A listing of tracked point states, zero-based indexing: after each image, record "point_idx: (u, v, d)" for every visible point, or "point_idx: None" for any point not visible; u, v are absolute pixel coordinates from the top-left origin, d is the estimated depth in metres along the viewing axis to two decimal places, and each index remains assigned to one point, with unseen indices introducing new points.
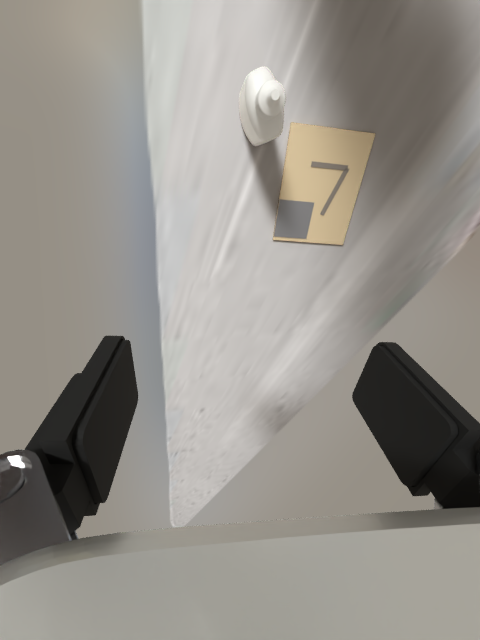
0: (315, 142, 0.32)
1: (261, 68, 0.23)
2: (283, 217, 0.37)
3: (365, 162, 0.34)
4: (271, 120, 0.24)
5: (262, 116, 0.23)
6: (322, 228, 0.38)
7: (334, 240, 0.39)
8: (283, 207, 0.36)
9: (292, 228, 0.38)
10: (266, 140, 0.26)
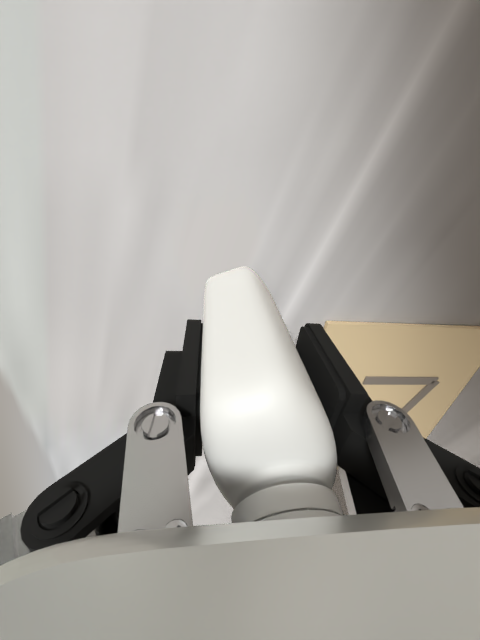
0: (377, 350, 0.15)
1: (264, 394, 0.05)
2: None
3: (473, 370, 0.17)
4: None
5: None
6: None
7: None
8: None
9: None
10: None
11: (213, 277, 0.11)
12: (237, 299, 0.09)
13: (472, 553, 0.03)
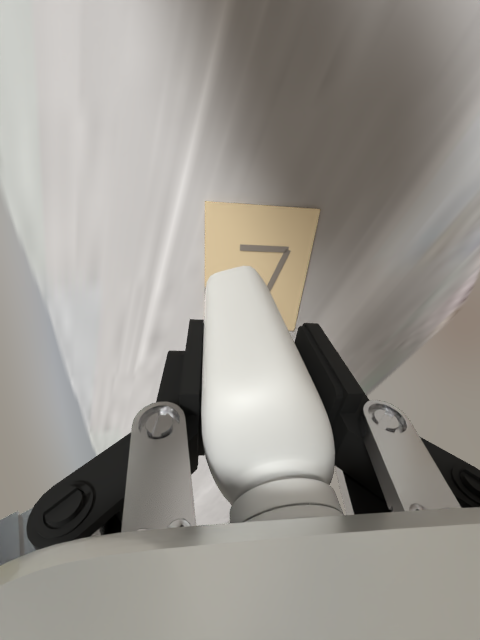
0: (241, 223, 0.25)
1: (270, 389, 0.05)
2: None
3: (311, 242, 0.26)
4: None
5: None
6: None
7: None
8: None
9: None
10: None
11: (215, 274, 0.11)
12: (241, 296, 0.09)
13: (472, 553, 0.03)
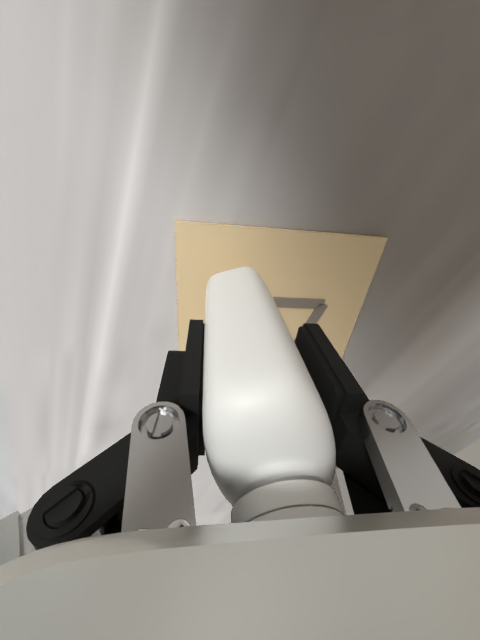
0: (243, 260, 0.13)
1: (271, 390, 0.05)
2: None
3: (363, 292, 0.15)
4: None
5: None
6: None
7: None
8: None
9: None
10: None
11: (216, 275, 0.11)
12: (242, 297, 0.09)
13: (472, 553, 0.03)
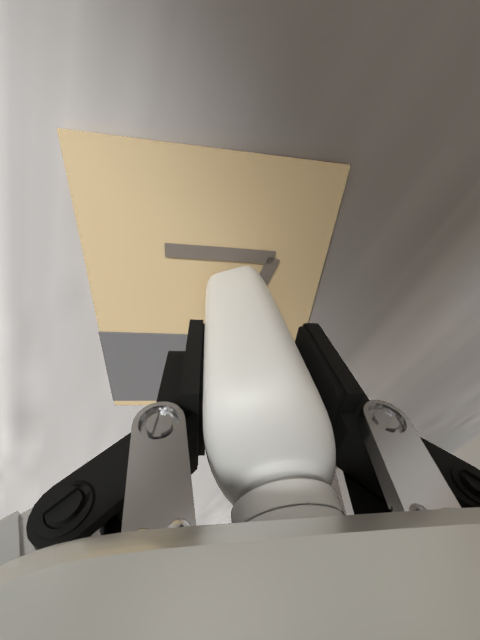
0: (161, 191, 0.10)
1: (271, 389, 0.05)
2: (125, 365, 0.15)
3: (325, 242, 0.12)
4: None
5: None
6: None
7: None
8: (115, 349, 0.14)
9: (156, 385, 0.15)
10: None
11: (216, 275, 0.11)
12: (242, 297, 0.09)
13: (472, 553, 0.03)
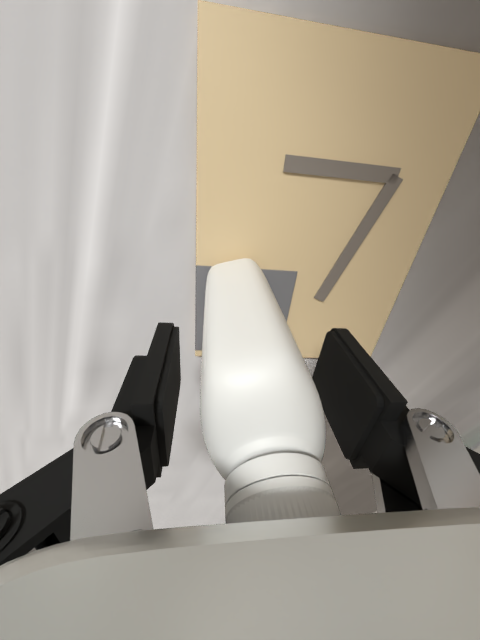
0: (295, 87, 0.09)
1: (267, 369, 0.06)
2: None
3: (454, 158, 0.11)
4: None
5: None
6: (320, 328, 0.15)
7: None
8: None
9: None
10: None
11: (217, 265, 0.12)
12: (241, 286, 0.09)
13: (472, 553, 0.03)
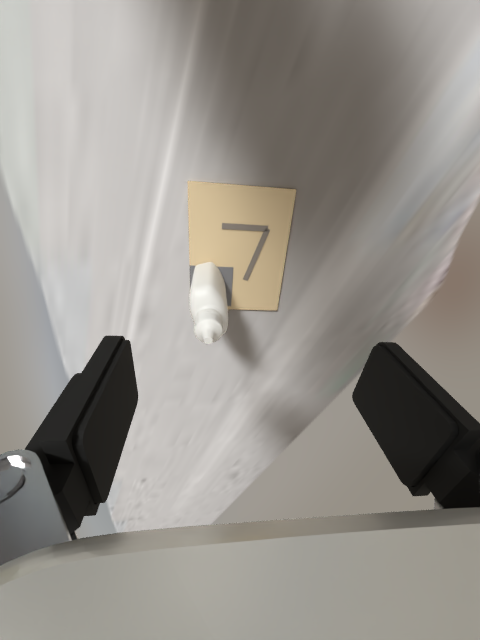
0: (222, 202, 0.26)
1: (205, 288, 0.23)
2: None
3: (289, 221, 0.28)
4: None
5: None
6: (249, 294, 0.32)
7: (266, 306, 0.33)
8: None
9: None
10: None
11: (198, 265, 0.29)
12: (204, 271, 0.26)
13: (472, 553, 0.03)
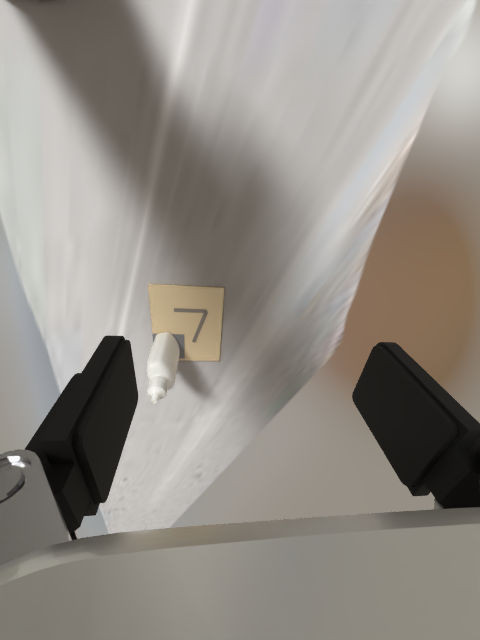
0: (173, 296, 0.38)
1: (156, 363, 0.35)
2: None
3: (221, 306, 0.40)
4: None
5: None
6: (197, 350, 0.44)
7: (211, 358, 0.45)
8: None
9: None
10: None
11: (157, 334, 0.41)
12: (160, 343, 0.38)
13: (472, 553, 0.03)
